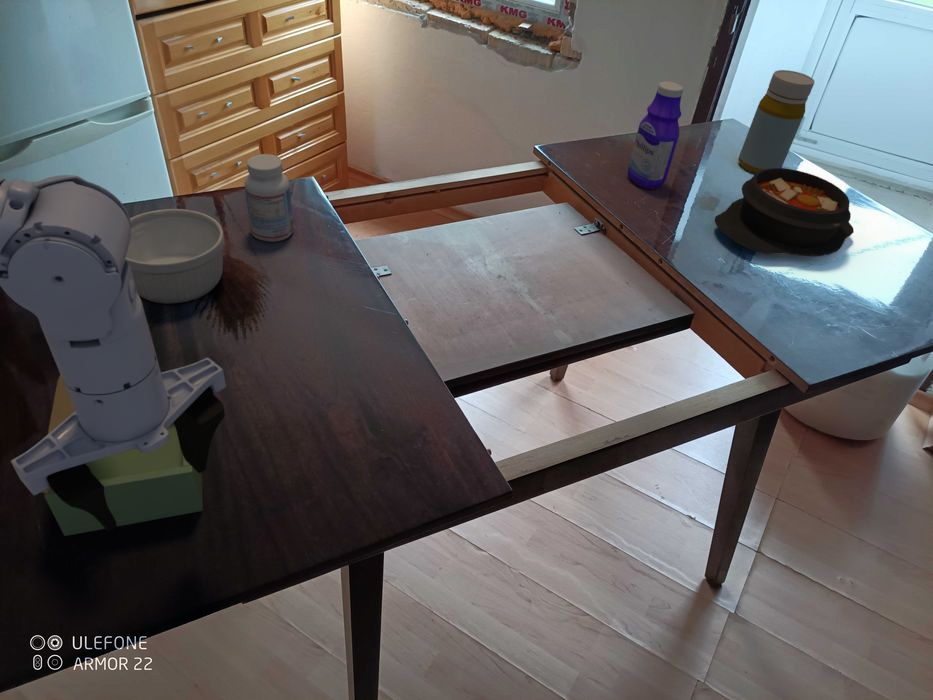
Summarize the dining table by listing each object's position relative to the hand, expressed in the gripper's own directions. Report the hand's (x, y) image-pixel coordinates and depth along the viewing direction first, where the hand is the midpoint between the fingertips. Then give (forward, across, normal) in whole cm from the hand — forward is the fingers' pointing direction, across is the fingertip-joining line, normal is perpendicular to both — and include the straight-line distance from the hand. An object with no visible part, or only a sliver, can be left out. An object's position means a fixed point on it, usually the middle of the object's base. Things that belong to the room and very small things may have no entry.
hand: (152, 491), depth 54 cm
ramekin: (+10, +23, +36) cm, 43 cm away
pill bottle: (+10, +39, +37) cm, 55 cm away
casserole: (+10, +100, -17) cm, 102 cm away
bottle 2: (+10, +123, -4) cm, 123 cm away
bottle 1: (+10, +99, +8) cm, 100 cm away
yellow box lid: (-2, +1, +12) cm, 13 cm away
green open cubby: (+9, +3, +11) cm, 15 cm away
